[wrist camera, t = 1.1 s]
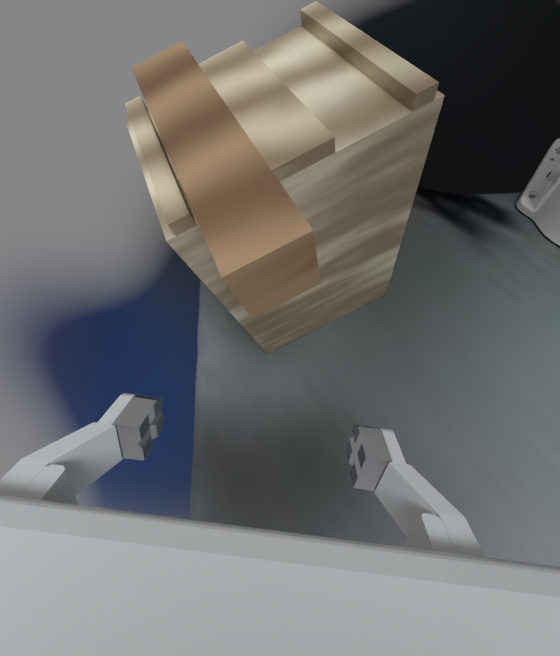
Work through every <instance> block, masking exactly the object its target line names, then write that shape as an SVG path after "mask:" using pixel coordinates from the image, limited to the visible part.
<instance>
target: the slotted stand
mask: <svg viewBox="0 0 560 656" xmlns="http://www.w3.org/2000/svg"><path fill="white" fill-rule="evenodd" d="M300 11H301V21H302V26H300V27H298V28H296V29H295V30H293V31H291V32H289V33H287V34H286V35H283V36H282V37H280V38H278V39H276V40H274V41H272V42H270V43H268V44H267V45H265V46H263V47H261V48H259V49H257V50H255V51H254V52H253V51H252V49H251V48H250V47H249V46H248V45H247V44H246V43H245V42H244V41H241V42H239V43H237V44H235V45H233V46H232V47H230V48H228V49H226V50H224V51H222V52H221V53H218V54H217V55H215V56H213V57H211V58H209V59H208V60H205V61H204V62H202V63H200V64H198V65H199V66H200V68H201V69H202V71H203V72H204V73H205V75H206V76H207V78H208V79H209V81H210V82H211V84H212V85H213V86H214V88H215V89H216V91H217V92H218V94H219V95H220V97H221V98H222V99H223V101H224V102H225V104H226V105H227V107H228V108H229V109H230V111H231V112H232V114H233V115H234V117H235V118H236V120H237V121H238V122H239V124H240V125H241V127H242V128H243V130H244V131H245V133H246V134H247V135H248V137H249V138H250V140H251V141H252V143H253V144H254V146H255V147H256V148H257V150H258V151H259V153H260V154H261V156H262V157H263V159H264V160H265V161H266V163H267V164H268V166H269V167H270V169H271V170H272V172H273V173H274V174H275V176H276V177H277V179H278V180H279V182H280V183H281V184H282V186H283V187H284V189H285V190H286V192H287V193H288V195H289V196H290V197H291V199H292V200H293V202H294V203H295V205H296V206H297V208H298V209H299V210H300V212H301V213H302V215H303V216H304V218H305V219H306V221H307V222H308V223H309V225H310V226H311V228H312V229H313V232H314V239H315V246H316V253H317V260H318V267H319V274H320V281H321V284H319V285H317V286H315V287H313V288H311V289H309V290H307V291H305V292H303V293H301V294H299V295H297V296H295V297H293V298H292V299H290V300H288V301H286V302H284V303H282V304H280V305H278V306H276V307H274V308H272V309H270V310H268V311H266V312H264V313H262V314H260V315H258V316H257V317H255V318H253V319H252V317H251V316H250V315H249V313H248V312H247V311H246V309H245V308H244V307H243V305H242V304H241V303H240V301H239V300H238V299H237V297H236V296H235V295H234V293H233V292H232V291H231V289H230V288H229V287H228V285H227V284H226V283H225V281H224V280H223V279H222V277H221V275H220V272H219V270H218V268H217V265H216V263H215V261H214V259H213V256H212V254H211V252H210V249H209V247H208V245H207V242H206V240H205V238H204V235H203V233H202V231H201V228H200V226H199V224H198V221H197V219H196V217H195V215H194V212H193V210H192V208H191V205H190V203H189V201H188V198H187V196H186V194H185V191H184V189H183V187H182V184H181V182H180V180H179V177H178V175H177V173H176V170H175V168H174V166H173V164H172V161H171V159H170V157H169V154H168V152H167V150H166V147H165V145H164V143H163V140H162V138H161V136H160V133H159V131H158V129H157V126H156V124H155V122H154V119H153V117H152V115H151V113H150V110H149V108H147V107H146V105H145V104H144V102H143V100H142V99H141V97H140V96H139V97H137V98H135V99H133V100H131V101H129V102H127V103H126V104H125V107H126V109H127V112H128V115H129V119H127V120H126V124H127V127H128V130H129V133H130V136H131V139H132V142H133V144H134V148H135V150H136V153H137V156H138V159H139V162H140V165H141V168H142V171H143V174H144V177H145V180H146V183H147V186H148V189H149V191H150V194H151V197H152V200H153V203H154V206H155V209H156V212H157V215H158V218H159V221H160V224H161V226H162V229H163V233H164V235H165V238H166V241H167V242H168V244H170V246H171V247H172V248H173V249H174V250H175V251H176V253H177V254H178V255H179V256H180V257H181V258H182V259H183V260H184V261H185V262H186V264H187V265H188V266H189V267H190V268H191V269H192V270H193V271H194V273H195V274H196V275H197V276H198V277H199V278H200V279H201V281H202V282H203V283H204V284H205V285H206V286H207V287H208V288H209V289H210V291H211V292H212V293H213V294H214V295H215V296H216V297H217V298H218V300H219V301H220V302H221V303H222V304H223V305H224V306H225V307H226V308H227V310H228V311H229V312H230V313H231V314H232V315H233V316H234V317H235V319H236V320H237V321H238V322H239V323H240V324H241V325H242V326H243V328H244V329H245V330H246V331H247V332H248V333H249V334H250V335H251V336H252V338H253V339H254V340H255V341H256V342H257V343H258V344H259V345H260V347H261V348H262V349H263V350H264V351H265V352H266V353H267V354H268V353H270V352H272V351H274V350H276V349H278V348H280V347H282V346H284V345H286V344H288V343H290V342H292V341H294V340H296V339H298V338H300V337H302V336H304V335H306V334H308V333H310V332H311V331H313V330H315V329H317V328H319V327H321V326H323V325H325V324H327V323H329V322H331V321H333V320H335V319H337V318H339V317H341V316H343V315H345V314H347V313H349V312H351V311H353V310H354V309H356V308H358V307H360V306H362V305H364V304H366V303H368V302H370V301H372V300H374V299H376V298H378V297H380V296H382V295H384V294H386V292H387V289H388V286H389V282H390V279H391V275H392V272H393V269H394V265H395V262H396V258H397V255H398V252H399V248H400V245H401V241H402V238H403V235H404V231H405V228H406V224H407V221H408V218H409V214H410V211H411V207H412V204H413V201H414V197H415V194H416V191H417V187H418V184H419V180H420V177H421V174H422V170H423V166H424V163H425V160H426V157H427V153H428V149H429V146H430V143H431V139H432V136H433V133H434V129H435V126H436V123H437V119H438V116H439V112H440V109H441V106H442V102H443V99H444V95H443V94H442V93H440V92H439V91H437V87H438V84H439V82H438V81H436V80H435V79H433V78H431V77H430V76H429V75H427V74H425V73H424V72H423V71H421V70H420V69H418V68H417V67H415V66H413V65H412V64H410V63H409V62H407V61H406V60H404V59H403V58H401V57H400V56H398V55H397V54H395V53H394V52H392V51H391V50H389V49H388V48H386V47H385V46H383V45H382V44H380V43H379V42H377V41H376V40H374V39H373V38H371V37H370V36H368V35H367V34H365V33H364V32H362V31H361V30H359V29H358V28H356V27H355V26H353V25H351V24H350V23H348V22H347V21H345V20H344V19H343V18H341V17H340V16H338V15H336V14H335V13H333V12H332V11H330V10H329V9H327V8H326V7H324V6H323V5H321V4H320V3H318V2H317V1H315V2H313V3H311V4H310V5H308V6H306V7H304V8H302V9H300Z"/></svg>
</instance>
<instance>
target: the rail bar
mask: <svg viewBox="0 0 560 656" xmlns="http://www.w3.org/2000/svg"><path fill="white" fill-rule="evenodd" d="M132 71H133V73H134V75H135V78H136V80H137V82H138V85H139V87H140V89H141V92H142V94H143V96H144V99H145V101H146V103H147V105H148V108H149V110H150V113H151V115H152V117H153V119H154V122H155V124H156V126H157V129H158V131H159V133H160V136H161V138H162V140H163V143H164V145H165V147H166V150H167V152H168V154H169V157H170V159H171V161H172V164H173V166H174V168H175V170H176V173H177V175H178V177H179V180H180V182H181V184H182V187H183V189H184V191H185V194H186V196H187V198H188V201H189V203H190V205H191V208H192V210H193V212H194V215H195V217H196V219H197V221H198V224H199V226H200V228H201V231H202V233H203V235H204V238H205V240H206V242H207V245H208V247H209V249H210V252H211V254H212V256H213V259H214V261H215V263H216V265H217V268H218V270H219V272H220V275H221V277H222V279H223V280H224V281H225V283H226V284H227V285H228V287H229V288H230V289H231V291H232V292H233V293H234V295H235V296H236V297H237V299H238V300H239V301H240V303H241V304H242V305H243V307H244V308H245V309H246V311H247V312H248V313H249V315H250V316H251V317H252V319H253V318H255V317H257V316H258V315H260V314H262V313H264V312H266V311H268V310H270V309H272V308H274V307H276V306H278V305H280V304H282V303H284V302H286V301H288V300H290V299H292V298H293V297H295V296H297V295H299V294H301V293H303V292H305V291H307V290H309V289H311V288H313V287H315V286H317V285H319V284H321V281H320V274H319V267H318V260H317V253H316V246H315V239H314V232H313V229H312V228H311V226H310V225H309V223H308V222H307V221H306V219H305V218H304V216H303V215H302V213H301V212H300V210H299V209H298V208H297V206H296V205H295V203H294V202H293V200H292V199H291V197H290V196H289V195H288V193H287V192H286V190H285V189H284V187H283V186H282V184H281V183H280V182H279V180H278V179H277V177H276V176H275V174H274V173H273V172H272V170H271V169H270V167H269V166H268V164H267V163H266V161H265V160H264V159H263V157H262V156H261V154H260V153H259V151H258V150H257V148H256V147H255V146H254V144H253V143H252V141H251V140H250V138H249V137H248V135H247V134H246V133H245V131H244V130H243V128H242V127H241V125H240V124H239V122H238V121H237V120H236V118H235V117H234V115H233V114H232V112H231V111H230V109H229V108H228V107H227V105H226V104H225V102H224V101H223V99H222V98H221V97H220V95H219V94H218V92H217V91H216V89H215V88H214V86H213V85H212V84H211V82H210V81H209V79H208V78H207V76H206V75H205V73H204V72H203V71H202V69H201V68H200V66H199V65H198V63H197V62H196V60H195V59H194V58H193V56H192V55H191V53H190V52H189V50H188V49H187V48H186V46H185V45H184V43H183V42H182V41H180V42H178V43H177V44H175V45H173V46H171V47H170V48H167V49H166V50H164V51H162V52H160V53H158V54H156V55H155V56H153V57H151V58H149V59H147V60H145V61H143V62H141V63H140V64H138V65H136V66H134V67H132Z"/></svg>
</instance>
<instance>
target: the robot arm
mask: <svg viewBox="0 0 560 656" xmlns="http://www.w3.org/2000/svg"><path fill="white" fill-rule="evenodd" d="M516 207H517V208H518V210H520V211H521V212H522V213H524V214H525V215H527V216H528V217H530V218H532V219H533V220H534V222H535V223H536V224H537V226H538V227H539V229H540V230H541V231H542V232H543V234H544V235H545V236H547V237H548V238H549V239H550V240H551V241H553V242H554V243H556V244H557V245H559V246H560V138H559V139H557V140H556V141H555V142H554V143H553V144H552V145H551V147H550V148H549V150H548V151H547V153H546V155H545V157H544V158H543V160H542V161H541V163H540V165H539V166H538V168H537V170H536V171H535V173H534V175H533V177H532V178H531V180H530V181H529V183H528V185H527V187H526V188H525V190H524V192H523V193H522V195H521V197H520V198H519V200H518V202H517V204H516ZM161 407H162V401H161V399H159V398H153V397H146V396H140V395H133V394H127V393H123V394H122V395H120V396H119V397H118V399H117V400H116V401H115V402H114V403H113V405H112V406H111V407H110V408H109V409H108V411H107V412H106V413H105V414H104V415H103V417H102V418H101V419H100V420H99V421H98V422H97V423H94V422H93V423H91V424H89V425H87V426H85V427H83V428H81V429H79V430H77V431H76V432H73V433H72V434H70V435H68V436H66V437H64V438H62V439H60V440H58V441H56V442H54V443H52V444H50V445H48V446H46V447H44V448H42V449H40V450H38V451H36V452H34V453H32V454H30V455H28V456H26V457H24V458H22V459H21V460H20V461H19V462H18V463H17V464H16V465H15V466H14V467H13V468H12V469H11V470H10V471H9V472H8V473H7V474H6V475H5V476H4V477H3V478H2V479H1V480H0V656H560V567H557V566H549V565H541V564H533V563H526V562H518V561H510V560H502V559H494V558H487V557H485V556H484V554H483V552H482V550H481V548H480V546H479V544H478V542H477V540H476V538H475V536H474V534H473V532H472V530H471V528H470V526H469V524H468V522H467V520H466V518H465V517H464V516H463V515H462V514H461V513H460V512H459V511H458V510H457V509H456V508H455V507H454V506H453V505H452V504H451V503H450V502H448V501H447V500H446V499H445V498H444V497H443V496H442V495H441V494H440V493H439V492H438V491H437V490H436V489H435V488H434V487H433V486H432V485H431V484H430V483H429V482H428V481H427V480H426V479H425V478H424V477H422V476H421V475H420V474H419V473H418V472H417V471H416V470H415V469H414V468H413V467H412V466H411V465H409V464H406V462H405V459H404V457H403V454H402V452H401V449H400V447H399V444H398V442H397V439H396V437H395V434H394V432H393V430H392V429H385V428H377V427H369V426H361V425H355V426H354V428H353V430H352V432H353V437H351V438H350V439H349V442H348V447H347V457H348V462H349V463H350V464H351V466H352V469H351V472H350V473H351V478H352V483H353V488H357V489H364V490H370V491H375V492H374V493H375V494H376V496H377V497H378V498H379V500H380V501H381V503H382V504H383V505H384V507H385V508H386V510H387V511H388V512H389V514H390V515H391V517H392V518H393V520H394V521H395V522H396V524H397V525H398V527H399V528H400V529H401V531H402V532H403V534H404V535H405V536H406V539H405V541H404V542H403V544H402V545H401V546H393V545H386V544H378V543H370V542H362V541H355V540H347V539H339V538H331V537H324V536H316V535H308V534H300V533H292V532H285V531H277V530H269V529H261V528H253V527H246V526H238V525H230V524H222V523H214V522H207V521H199V520H191V519H182V518H175V517H168V516H160V515H152V514H144V513H137V512H128V511H121V510H113V509H106V508H97V507H90V506H82V505H79V504H78V501H77V499H76V496H75V495H77V494H78V493H79V492H81V491H82V490H83V489H85V488H86V487H87V486H88V485H90V484H91V483H92V482H94V481H95V480H96V479H97V478H99V477H100V476H101V475H103V474H104V473H105V472H107V471H108V470H109V469H111V468H112V467H113V466H114V465H116V464H117V463H118V462H120V461H121V460H122V458H126V459H136V460H145V458H146V456H147V455H148V453H149V451H150V449H151V447H152V440H153V439H154V438H156V437H157V436H158V435H159V433H160V431H161V428H162V424H163V413H162V412H161V411H160V409H161Z"/></svg>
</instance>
